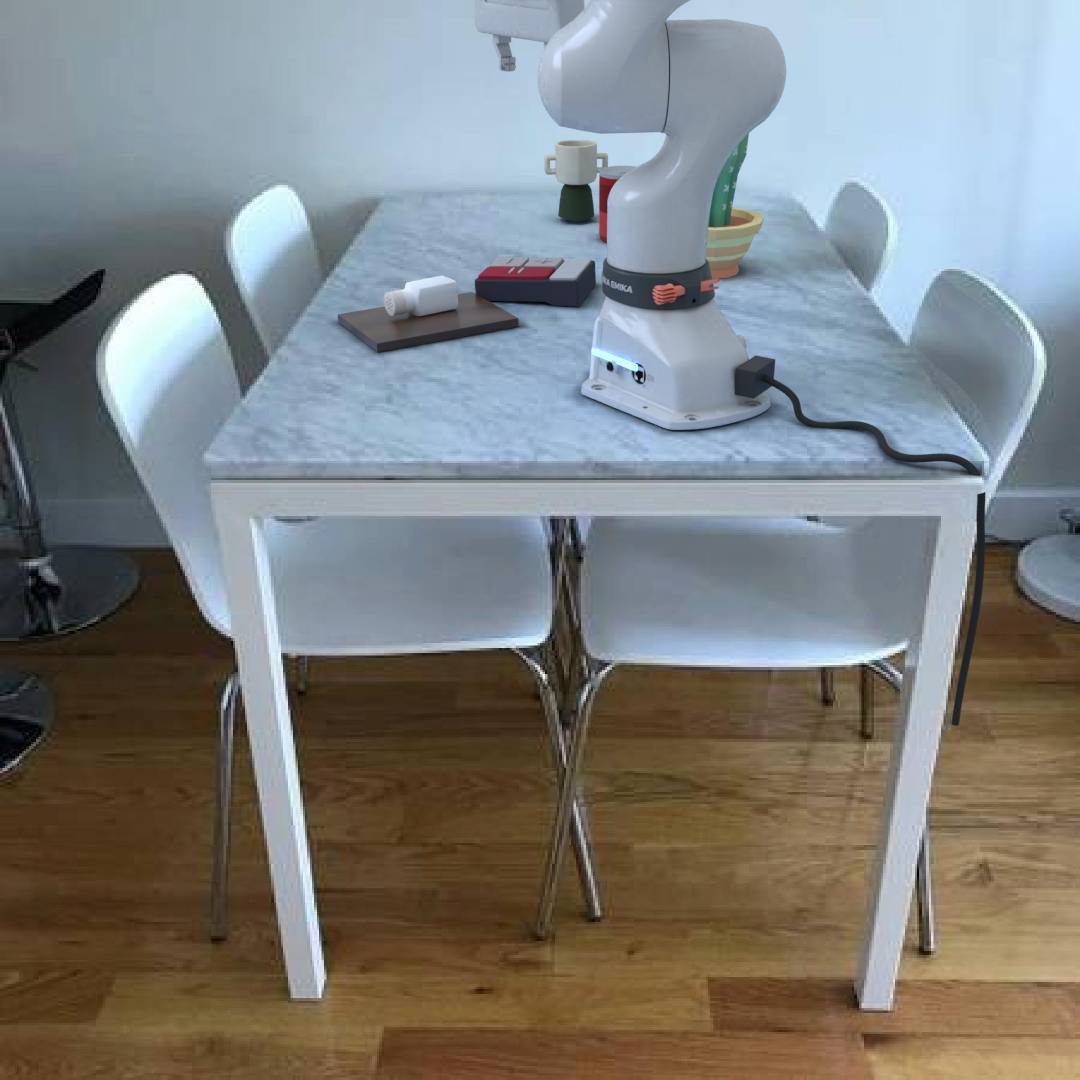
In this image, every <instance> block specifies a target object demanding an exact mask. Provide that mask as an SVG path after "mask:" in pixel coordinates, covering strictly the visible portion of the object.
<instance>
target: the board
mask: <svg viewBox="0 0 1080 1080" xmlns="http://www.w3.org/2000/svg"><path fill="white" fill-rule="evenodd" d="M337 322H338V324H339V325H340V326H342V327H343V328H344V329H346V330H347V331H348V332H350V333H351V334H352V335H354V336H355V337H356V338H358V339H359V340H360V341H362V342H363V343H364V344H365V345H367V346H368V347H369V348H370V349H372V350H374V351H375V352H376V353H383V352H389V351H393V350H398V349H399V350H400V349H404V348H410V347H415V346H421V345H426V344H432V343H437V342H444V341H448V340H454V339H458V338H465V337H470V336H475V335H481V334H486V333H487V334H488V333H492V332H497V331H502V330H508V329H513V328H519V327H520V326H519V324H520V323H519V317H517V316H516V315H514V314H512V313H511V312H508V311H507V310H505V309H503V308H502V307H500V306H498V305H497V304H494V302H492V301H487V300H486V299H484V298H482V297H480V296H479V295H477V294H476V292H473V291H470V292H463V293H458V308H456V309H453V310H448V311H444V312H439V313H434V314H429V315H424V316H416V315H413V314H411V313H410V312H407V313H405V314H400V315H395V316H390V315H389V314H388V313H387V311H386V308H385V306H380V307H373V308H368V309H362V310H357V311H349V312H344V313H338V314H337Z"/></svg>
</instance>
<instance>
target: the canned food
mask: <svg viewBox="0 0 1080 1080" xmlns="http://www.w3.org/2000/svg"><path fill="white" fill-rule="evenodd" d="M636 167H637V166H635V165H612V166H608V167H605V168H603V169H601V170H600V173H598V174H599V175H598V176H599V178H598V179H599V180H598V192H599V193H598V234H599V239H600V240H601V241H602V242H604V243H607V201H608V196H609V193H610V191H611V189H612V187H613V186H614V184H615V183H616V182H617V181H618V180H619V179H620V178H621V177H622V176H623V175H624V174H626V173H627V172H629V171H630V170H632V169H634V168H636Z"/></svg>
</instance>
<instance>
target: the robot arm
mask: <svg viewBox="0 0 1080 1080" xmlns="http://www.w3.org/2000/svg"><path fill="white" fill-rule="evenodd" d="M690 1H691V0H590V1H589V2H588V3H587V5H586V6H585V0H474V24H475V27H476V29H477V32H479V33H480V34H487V35H492V44H493V46H494V49H495V52H496V54H497V57H498V69H499V71H501V72H507V73H508V72H514V71H516V67H517V65H516V62H517V61H516V58H517V57H516V56H514V55H513V54H512V49H511V45H510V43H512V38H514V39H521V40H525V41H533V42H534V41H535V42H540V43H543V51H542V53H541V56H540V59H539V63H538V67H537V68H538V70H537V88H538V94H539V97H540V100H541V102H542V105H543V107H544V109H545V111H546V113H547V114H548V115H549V117H550V118H551V119H552V120H553V122H554V123H555V124H557V126H559V127H562V128H567V129H572V130H577V131H581V132H588V133H594V134H599V135H602V134H603V135H605V134H606V135H609V134H640V133H641V134H642V133H643V134H644V133H645V134H646V133H661V134H665V138H664V141H663V143H662V146H661V148H660V149H659V150H658V152H657V153H656V154H655V155H654V156H653V157H652V158H651V159H648V160H647V161H645V162H644V163H642V164H640V165H638V166H636V168H634V169H632V170H630V171H629V172H627V173H626V174H624V175H623V176H622V177H621V178H620V179H619V180H618V181H617V182H616V183H615V184H614V186H613V187H612V189H611V191H610V193H609V196H608V201H607V242H606V258H604V260H603V262H602V271H601V282H602V284H601V285H602V286H601V291H602V293H603V294H604V301H603V304H602V307H601V309H600V311H599V314H598V315H597V316H596V318H595V321H594V325H593V333H592V344H591V356H590V365H589V366H590V367H589V368H590V369H589V377H588V378H587V379H585V380H584V381H583V383H581V389H580V393H581V395H582V396H585V397H587V398H590V399H592V400H595V401H597V402H599V403H602V404H604V405H606V406H609V407H612V408H614V409H617V410H619V411H621V412H624V413H626V414H629V415H631V416H633V417H636V418H639V419H641V420H644V421H646V422H648V423H650V424H653V425H655V426H658V427H660V428H663V429H667V430H671V431H688V430H689V431H691V430H700V429H701V430H702V429H709V428H715V427H721V426H725V425H729V424H734V423H737V422H741V421H746V420H747V419H752V418H754V417H756V416H759V415H760V414H761V415H762V414H763V413H764V412H766V411H768V410H769V409H770V408H771V397H769V396H768V395H767V394H766V393H765V392H766V391H767V390H769V389H770V388H774V389H776V390H778V391H780V392H781V393H783V394H784V395H785V396H786V397H787V398H788V399H789V400H790V402H791V404H792V408H793V413H794V415H795V418H796V419H797V421H799V422H800V423H801V424H802V425H804V426H806V427H809V428H815V429H829V430H831V429H832V430H834V429H835V430H837V429H839V430H843V429H844V430H845V429H856V430H862V431H865V432H868V433H870V434H871V435H873V436H874V437H875V439H876V441H877V443H878V446H879V448H880V449H881V451H882V452H883V453H884V454H885V455H887V456H888V457H890V458H892V459H894V460H896V461H900V462H903V463H915V464H917V463H933V462H947V463H953V464H956V465H959V466H960V467H963V468H964V469H965V470H966V471H967V472H968V473H969V474H970V475H971V476H976V477H980V476H982V474H981V473H980V471H979V469H978V468H977V467H976V465H974V464H973V463H972V462H971V461H969V460H968V459H967V458H964V457H962V456H961V455H957V454H954V453H953V454H952V453H944V452H941V453H922V454H921V453H920V454H909V453H903V452H899V451H897V450H895V449H893V448H892V447H891V446H890V445H889V444H888V442H887V440H886V438H885V435H884V433H883V432H882V431H881V430H880V429H879V428H878V427H876V426H874V425H873V424H871V423H869V422H868V423H867V422H865V421H860V420H842V421H841V420H840V421H829V422H828V421H827V422H826V421H825V422H824V421H818V420H813V419H811V418H809V417H807V416H805V415H804V413H803V411H802V405H801V402H800V401H801V400H800V398H799V397H798V395H797V394H796V393H795V392H794V391H793V390H792V389H791V388H790V387H788V386H787V385H785V384H784V383H782V382H781V381H778V380H776V379H775V368H776V358H771V357H765V356H761V355H754V356H752V357H751V358H750V357H749V352H748V350H747V341H746V339H745V336H743V335H740V334H739V335H737V334H736V332H735V331H734V330H733V328H732V326H731V324H730V323H729V322H728V320H727V319H726V317H725V315H724V314H723V312H722V311H721V310H720V308H719V307H718V304H717V303H716V301H715V299H714V298H715V296H716V292H715V290H718V289H720V286H714V284H717V283H719V282H720V281H721V280H720V278H718V279H713V277H712V272H711V270H710V265H709V262H708V260H707V259H706V249H707V235H708V224H709V216H710V209H711V202H712V196H713V192H714V188H715V185H716V182H717V179H718V177H719V175H720V172H721V170H722V168H723V166H724V165H725V163H726V161H727V159H728V158H729V156H730V155H731V153H732V152H733V150H734V149H735V148H736V147H737V145H738V144H739V143H740V142H741V141H742V140H743V139H744V137H745V136H746V135H748V134H749V135H750V133H751V132H752V131H753V130H754V129H756V128H757V127H758V126H760V125H761V124H763V123H764V122H765V121H766V120H767V119H768V118H769V117H770V116H771V115H772V114H773V112H774V111H775V110H776V108H777V107H778V105H779V103H780V101H781V99H782V96H783V93H784V91H785V87H786V82H787V62H786V61H787V60H786V57H785V53H784V50H783V48H782V45H781V43H780V42H779V40H778V38H777V37H776V35H775V33H774V32H772V30H771V29H770V28H769V27H766V26H763V25H759V24H753V23H749V22H745V21H739V20H733V19H727V18H719V19H718V18H714V19H713V18H711V19H709V18H708V19H669V17H670V16H671V15H672V14H673V13H674V12H675V11H676V10H678V9H679V8H681V7H682V6H683V5H684V4H686V3H688V2H690ZM975 517H976V522H975V523H976V562H975V563H976V564H975V580H974V589H973V598H972V605H971V611H970V617H969V622H968V629H967V634H966V639H965V644H964V648H963V655H962V660H961V664H960V669H959V675H958V678H957V679H958V680H957V685H956V690H955V691H956V692H955V695H954V701H953V702H954V703H953V708H952V717H951V725H952V726H955V727H958V726H960V721H961V713H962V706H963V701H964V694H965V689H966V685H967V678H968V673H969V668H970V663H971V658H972V654H973V649H974V643H975V638H976V634H977V628H978V624H979V623H978V622H979V618H980V612H981V604H982V597H983V589H984V588H983V587H984V577H985V564H986V563H985V561H986V523H985V521H986V518H985V517H986V491H984V492H981V493H977V494H976V515H975Z"/></svg>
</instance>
